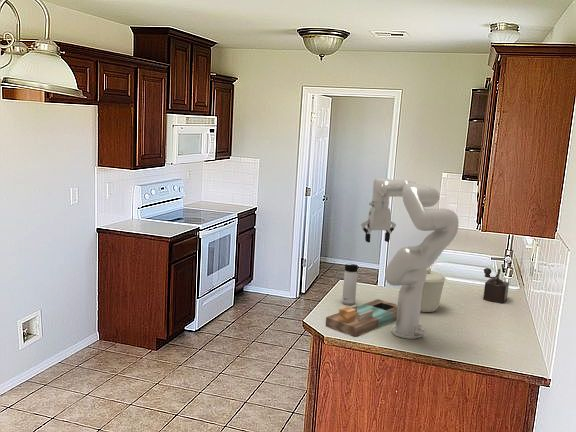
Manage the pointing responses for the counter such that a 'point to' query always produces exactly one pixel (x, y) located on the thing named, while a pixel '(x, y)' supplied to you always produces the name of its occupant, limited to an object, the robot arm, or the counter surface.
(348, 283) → the travel mug
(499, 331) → the counter surface
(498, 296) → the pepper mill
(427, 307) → the canister
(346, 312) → the block
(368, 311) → the board
